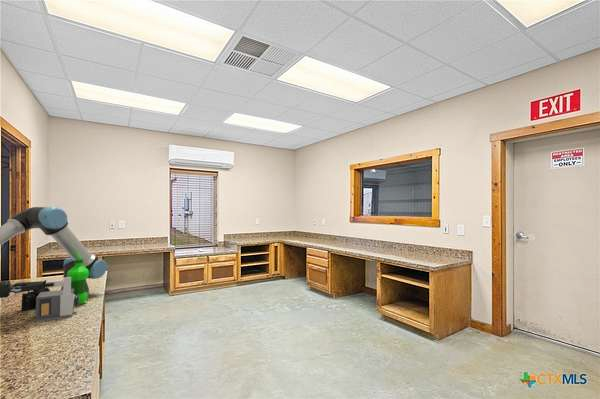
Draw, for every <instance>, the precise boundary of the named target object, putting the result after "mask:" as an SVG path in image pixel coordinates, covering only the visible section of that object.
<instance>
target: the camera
mask: <svg viewBox="0 0 600 399" xmlns="http://www.w3.org/2000/svg"><path fill="white" fill-rule="evenodd" d="M48 291H51V290H50V288H46V287H45V290H43V289H40V290H33V291H27V292H23V293H22V295H21V308H20V310H21V312H27V311H30V310H34V309H36V298H37V296H38V295H39V294H40V292H48Z"/></svg>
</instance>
